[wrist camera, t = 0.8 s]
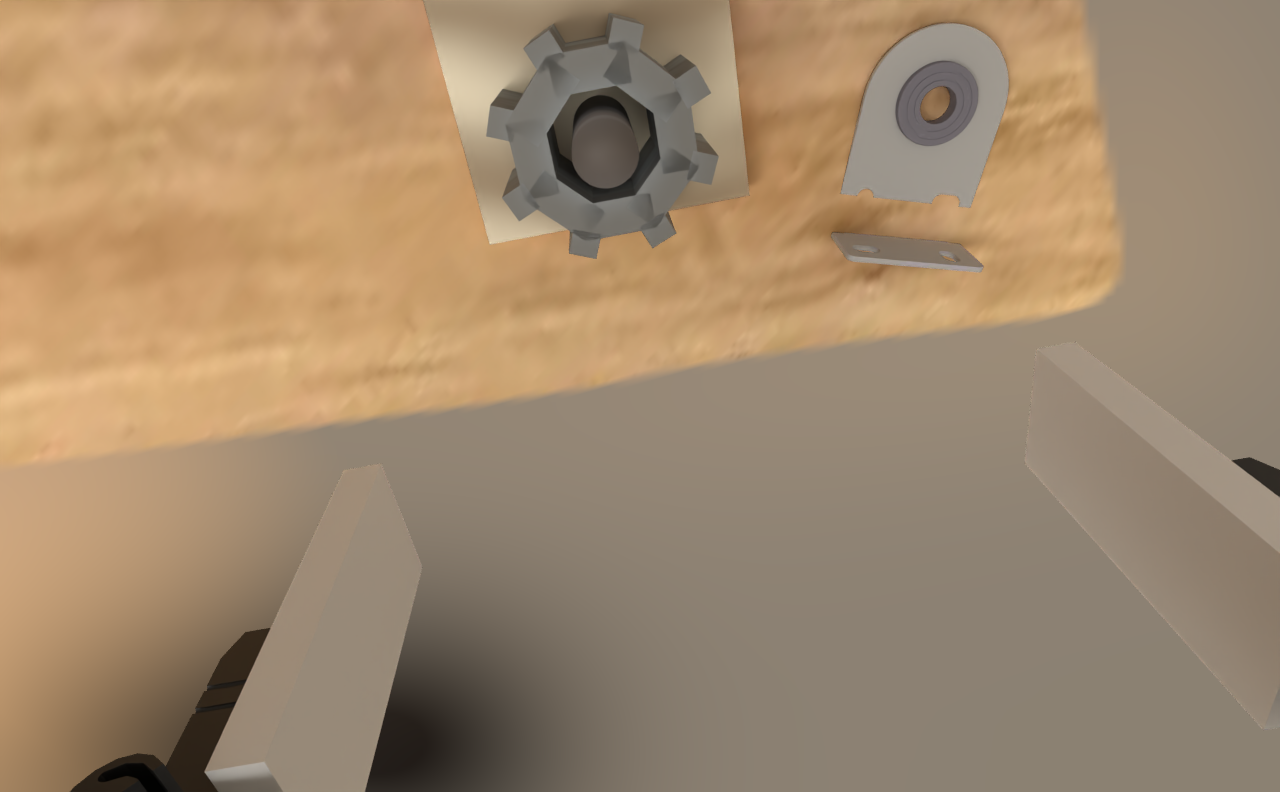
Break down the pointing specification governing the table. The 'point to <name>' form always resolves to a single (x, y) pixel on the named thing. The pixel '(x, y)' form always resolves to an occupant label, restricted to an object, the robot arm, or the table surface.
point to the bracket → (925, 137)
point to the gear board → (506, 63)
